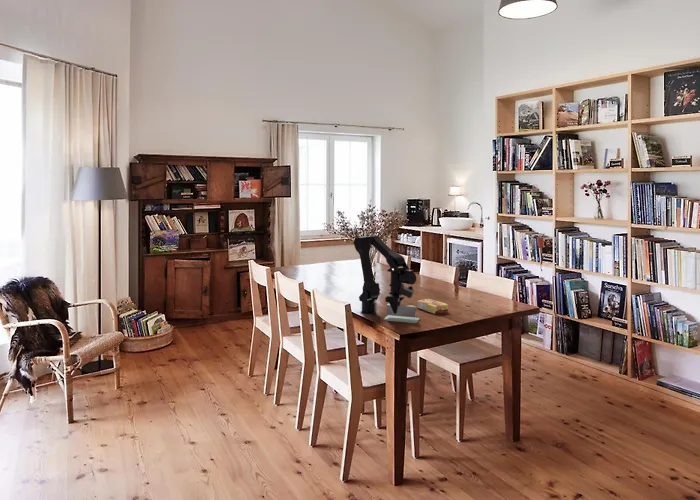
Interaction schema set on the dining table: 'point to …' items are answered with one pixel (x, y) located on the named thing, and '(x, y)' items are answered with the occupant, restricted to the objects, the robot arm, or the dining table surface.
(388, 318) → the pad
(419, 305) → the candy box
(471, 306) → the dining table surface
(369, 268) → the robot arm
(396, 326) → the dining table surface
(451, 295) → the dining table surface
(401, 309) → the bar
